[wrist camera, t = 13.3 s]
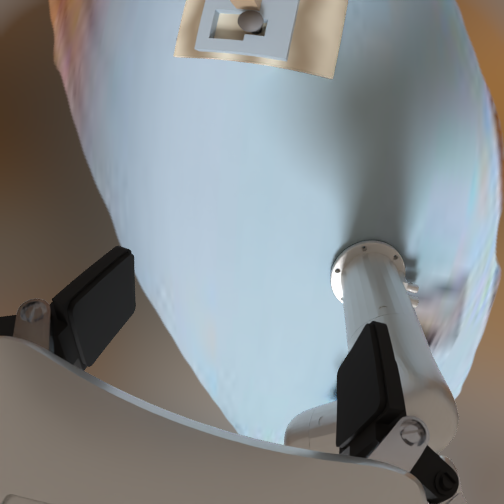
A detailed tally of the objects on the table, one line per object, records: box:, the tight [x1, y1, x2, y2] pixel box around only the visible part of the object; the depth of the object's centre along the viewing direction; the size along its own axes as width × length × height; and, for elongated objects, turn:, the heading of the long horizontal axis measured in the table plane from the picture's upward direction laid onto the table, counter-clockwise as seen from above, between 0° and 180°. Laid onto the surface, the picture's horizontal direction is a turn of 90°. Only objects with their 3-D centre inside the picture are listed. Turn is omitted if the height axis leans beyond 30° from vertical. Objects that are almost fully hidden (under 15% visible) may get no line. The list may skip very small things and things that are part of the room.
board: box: [174, 0, 348, 79], centre depth 26 cm, size 22×18×6 cm
